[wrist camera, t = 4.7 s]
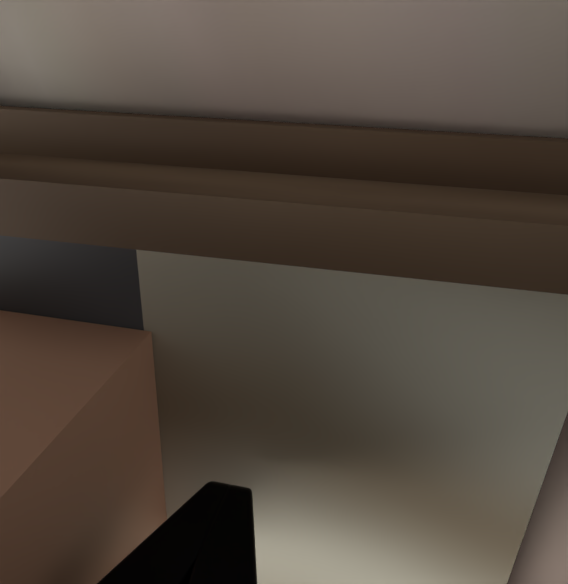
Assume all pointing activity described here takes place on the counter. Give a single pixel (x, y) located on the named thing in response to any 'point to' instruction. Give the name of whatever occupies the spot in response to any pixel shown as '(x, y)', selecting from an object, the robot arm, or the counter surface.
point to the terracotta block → (75, 448)
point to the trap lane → (317, 320)
